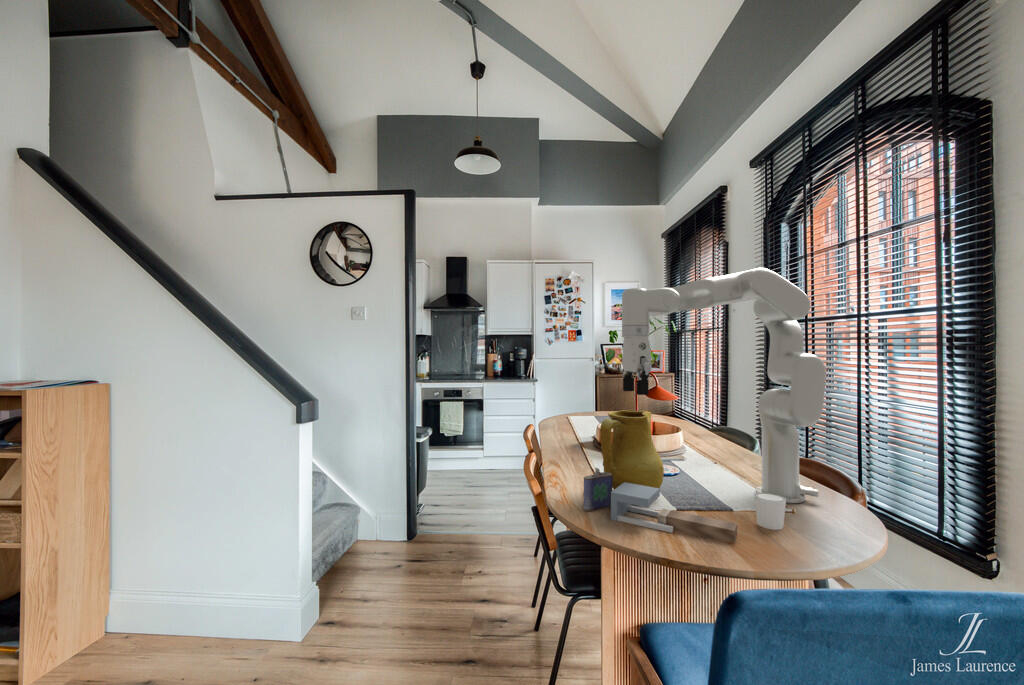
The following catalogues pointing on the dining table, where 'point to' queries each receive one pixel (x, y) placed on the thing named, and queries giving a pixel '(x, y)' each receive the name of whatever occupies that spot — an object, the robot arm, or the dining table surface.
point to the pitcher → (630, 449)
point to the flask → (597, 491)
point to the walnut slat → (699, 525)
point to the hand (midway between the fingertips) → (635, 392)
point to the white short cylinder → (770, 510)
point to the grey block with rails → (636, 496)
